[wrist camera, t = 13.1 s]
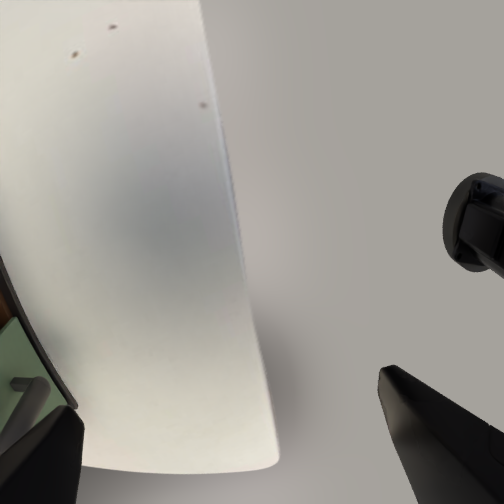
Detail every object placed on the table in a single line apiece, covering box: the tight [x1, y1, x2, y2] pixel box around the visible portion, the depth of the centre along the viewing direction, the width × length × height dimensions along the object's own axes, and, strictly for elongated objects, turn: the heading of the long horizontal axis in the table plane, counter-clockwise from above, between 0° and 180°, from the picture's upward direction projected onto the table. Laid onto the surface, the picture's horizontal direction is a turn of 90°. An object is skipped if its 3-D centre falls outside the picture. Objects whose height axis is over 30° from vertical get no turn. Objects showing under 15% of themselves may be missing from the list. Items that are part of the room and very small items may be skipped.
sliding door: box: [0, 317, 67, 455], centre depth 15 cm, size 4×9×13 cm, turn 10°
